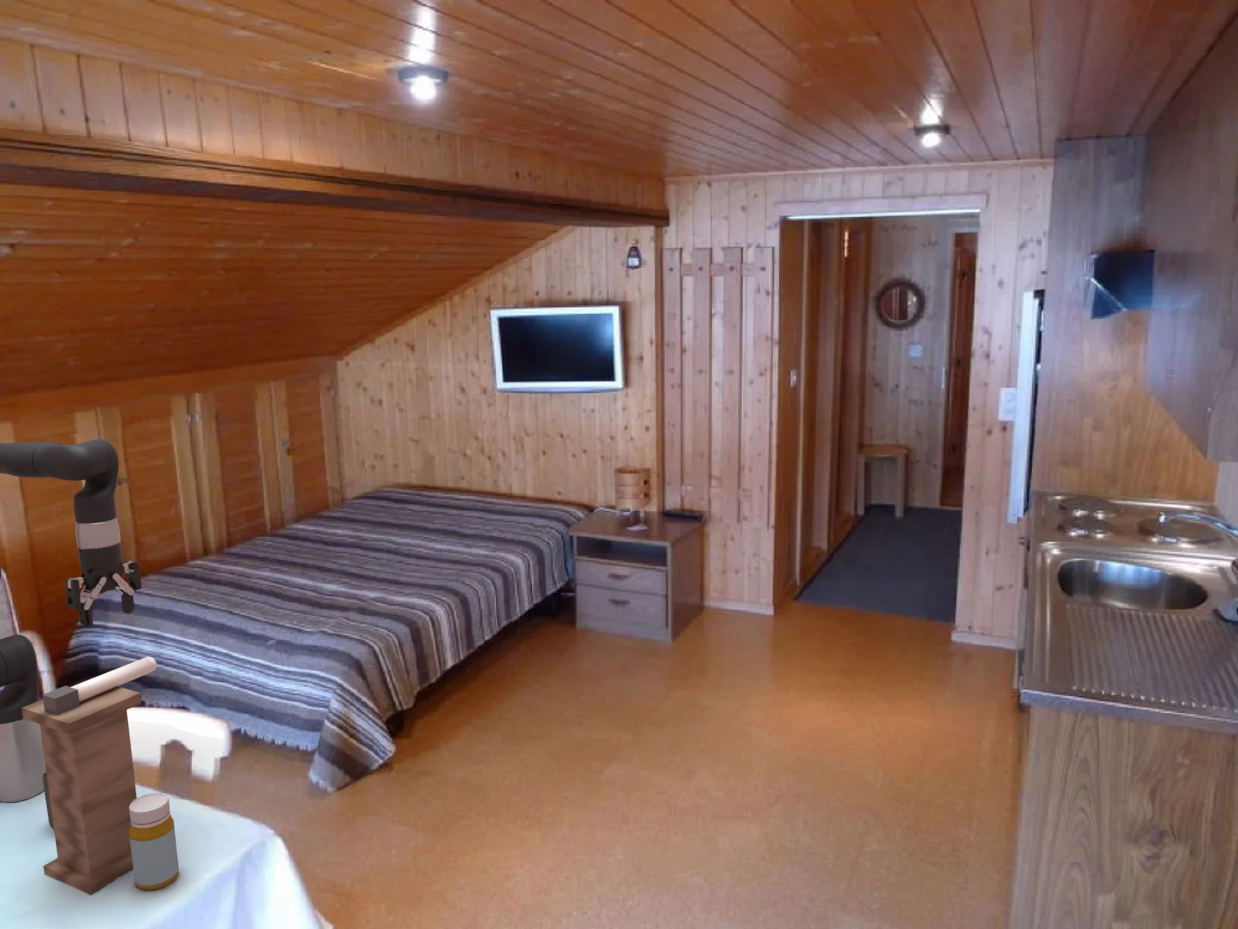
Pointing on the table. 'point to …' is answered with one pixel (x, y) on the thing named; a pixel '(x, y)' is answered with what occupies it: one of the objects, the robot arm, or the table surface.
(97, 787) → the pedestal
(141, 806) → the bottle
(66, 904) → the table surface
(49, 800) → the battery charger
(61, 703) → the hammer
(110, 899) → the table surface
